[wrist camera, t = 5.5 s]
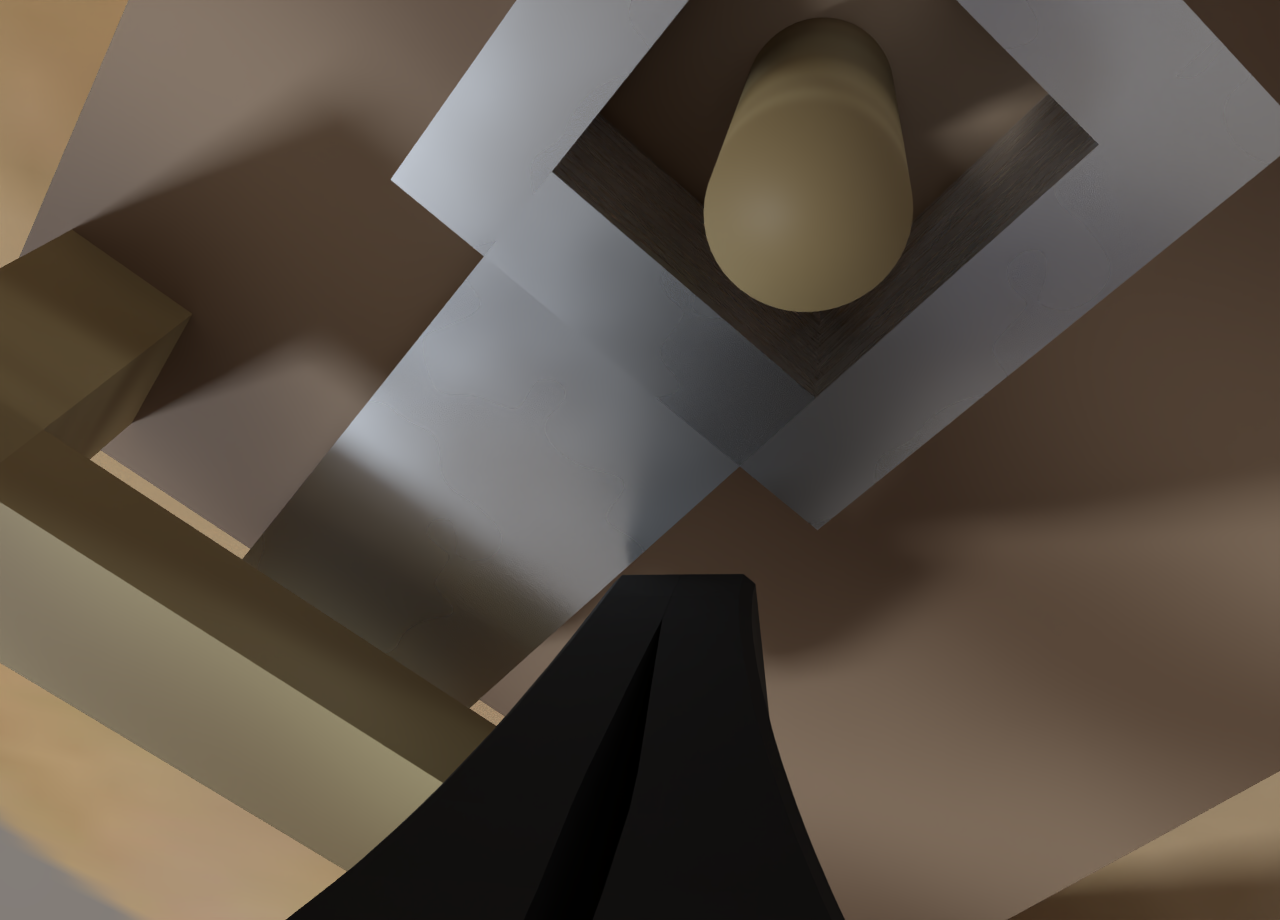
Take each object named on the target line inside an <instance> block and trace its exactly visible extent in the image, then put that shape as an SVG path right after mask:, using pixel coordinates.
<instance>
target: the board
mask: <svg viewBox="0 0 1280 920" xmlns="http://www.w3.org/2000/svg"><path fill="white" fill-rule="evenodd" d="M1183 1H1184V2H1185V3H1186V4H1187V5H1188V6H1189V7H1190V9H1191V10H1192V11H1193V12H1194V13H1195V14H1196V15H1197V16H1198V17H1199V18H1200V19H1201V20H1202V22H1203V23H1204V24H1205V25H1206V26H1207V27H1208V28H1209V29H1210V30H1211V31H1212V32H1213V34H1214V35H1215V36H1216V37H1217V38H1218V39H1219V40H1220V41H1221V42H1222V43H1223V44H1224V45H1225V47H1226V48H1227V49H1228V50H1229V51H1230V52H1231V53H1232V54H1233V55H1234V56H1235V57H1236V59H1237V60H1238V61H1239V62H1240V63H1241V64H1242V65H1243V66H1244V67H1245V68H1246V69H1247V70H1248V72H1249V73H1250V74H1251V75H1252V76H1253V77H1254V78H1255V79H1256V80H1257V81H1258V82H1259V83H1260V85H1261V86H1262V87H1263V88H1264V89H1265V90H1266V91H1267V92H1268V93H1269V94H1270V95H1271V97H1272V98H1273V99H1274V100H1275V101H1276V102H1277V103H1278V104H1279V105H1280V0H1183ZM515 2H516V0H129V1H128V3H127V5H126V8H125V10H124V12H123V15H122V17H121V19H120V22H119V24H118V26H117V29H116V31H115V34H114V36H113V38H112V41H111V43H110V45H109V48H108V50H107V52H106V55H105V57H104V59H103V62H102V64H101V66H100V69H99V71H98V73H97V76H96V78H95V81H94V83H93V85H92V88H91V90H90V92H89V95H88V97H87V99H86V102H85V104H84V106H83V109H82V111H81V113H80V116H79V118H78V121H77V123H76V125H75V128H74V130H73V132H72V135H71V137H70V139H69V142H68V144H67V146H66V149H65V151H64V153H63V156H62V158H61V161H60V163H59V165H58V168H57V170H56V172H55V175H54V177H53V179H52V182H51V184H50V186H49V189H48V191H47V193H46V196H45V198H44V201H43V203H42V205H41V208H40V210H39V212H38V215H37V217H36V219H35V222H34V224H33V226H32V229H31V231H30V233H29V236H28V238H27V241H26V243H25V245H24V248H23V250H22V252H21V255H20V257H19V258H18V259H16V260H15V261H13V262H11V263H9V264H7V265H5V266H4V267H2V268H0V663H1V664H3V665H5V666H6V667H8V668H10V669H11V670H13V671H15V672H16V673H18V674H20V675H21V676H23V677H25V678H26V679H28V680H30V681H31V682H33V683H35V684H36V685H38V686H40V687H41V688H43V689H45V690H46V691H48V692H50V693H51V694H53V695H55V696H56V697H58V698H60V699H61V700H63V701H65V702H66V703H68V704H70V705H71V706H73V707H75V708H76V709H78V710H80V711H81V712H83V713H85V714H86V715H88V716H90V717H91V718H93V719H95V720H96V721H98V722H100V723H101V724H103V725H105V726H106V727H108V728H110V729H111V730H113V731H115V732H116V733H118V734H120V735H121V736H123V737H125V738H126V739H128V740H130V741H131V742H133V743H135V744H136V745H138V746H139V747H141V748H143V749H144V750H146V751H148V752H149V753H151V754H153V755H154V756H156V757H158V758H159V759H161V760H163V761H164V762H166V763H168V764H169V765H171V766H173V767H174V768H176V769H178V770H179V771H181V772H183V773H184V774H186V775H188V776H189V777H191V778H193V779H194V780H196V781H198V782H199V783H201V784H203V785H204V786H206V787H208V788H209V789H211V790H213V791H214V792H216V793H218V794H219V795H221V796H223V797H224V798H226V799H228V800H229V801H231V802H233V803H234V804H236V805H238V806H239V807H241V808H243V809H244V810H246V811H248V812H249V813H251V814H253V815H254V816H256V817H258V818H259V819H261V820H263V821H264V822H266V823H268V824H269V825H271V826H273V827H274V828H276V829H278V830H279V831H281V832H283V833H284V834H286V835H288V836H289V837H291V838H293V839H294V840H296V841H298V842H299V843H301V844H303V845H304V846H306V847H308V848H309V849H311V850H313V851H314V852H316V853H318V854H319V855H321V856H323V857H324V858H326V859H328V860H329V861H331V862H333V863H334V864H336V865H338V866H339V867H341V868H342V869H344V870H346V871H348V870H350V869H351V868H352V867H353V866H354V865H355V864H357V863H358V862H359V861H360V860H361V859H362V858H364V857H365V856H366V855H367V854H368V853H369V852H370V851H371V850H372V849H374V848H375V847H376V846H377V845H378V844H379V843H380V842H381V841H382V840H384V839H385V838H386V837H387V836H388V835H389V834H390V833H391V832H393V831H394V830H395V829H396V828H397V827H398V826H399V825H400V824H401V823H402V822H403V821H404V820H405V819H407V818H408V817H409V816H410V815H411V814H412V813H413V812H414V811H415V810H416V809H417V808H418V807H419V806H420V805H421V804H422V803H423V802H424V801H425V800H426V799H427V798H428V797H429V796H430V795H431V794H432V793H433V792H435V791H436V790H437V789H438V788H439V787H440V786H441V785H442V784H443V783H444V781H445V780H446V779H447V778H448V777H449V776H450V775H451V774H452V773H453V772H454V771H455V770H456V769H457V768H458V767H459V766H460V765H461V763H462V762H463V761H464V760H465V759H466V758H467V757H468V756H469V755H470V754H471V753H472V752H473V751H474V750H475V749H476V748H477V747H478V745H479V744H480V743H481V742H482V741H483V740H484V739H485V738H486V737H487V736H488V735H489V734H490V733H491V732H492V731H493V730H494V729H495V727H496V726H495V725H494V724H492V723H491V722H489V721H488V720H486V719H485V718H483V717H482V716H480V715H479V714H477V713H476V712H474V711H472V710H471V709H469V708H468V707H466V706H465V705H463V704H462V703H460V702H459V701H457V700H456V699H454V698H453V697H451V696H450V695H448V694H446V693H445V692H443V691H442V690H440V689H439V688H437V687H436V686H434V685H433V684H431V683H430V682H428V681H427V680H425V679H424V678H422V677H421V676H419V675H417V674H416V673H414V672H413V671H411V670H410V669H408V668H407V667H405V666H404V665H402V664H401V663H399V662H398V661H396V660H395V659H393V658H392V657H390V656H388V655H387V654H385V653H384V652H382V651H381V650H379V649H378V648H376V647H375V646H373V645H372V644H370V643H369V642H367V641H366V640H364V639H363V638H361V637H359V636H358V635H356V634H355V633H353V632H352V631H350V630H349V629H347V628H346V627H344V626H343V625H341V624H340V623H338V622H337V621H335V620H334V619H332V618H330V617H329V616H327V615H326V614H324V613H323V612H321V611H320V610H318V609H317V608H315V607H314V606H312V605H311V604H309V603H308V602H306V601H305V600H303V599H301V598H300V597H298V596H297V595H295V594H294V593H292V592H291V591H289V590H288V589H286V588H285V587H283V586H282V585H280V584H279V583H277V582H276V581H274V580H272V579H271V578H269V577H268V576H266V575H265V574H263V573H262V572H260V571H259V570H257V569H256V568H254V567H253V566H251V565H250V564H248V563H247V562H245V561H243V560H242V559H240V558H239V557H237V556H236V555H234V554H233V553H231V552H230V551H228V550H227V549H225V548H224V547H222V546H221V545H219V544H218V543H216V542H214V541H213V540H211V539H210V538H208V537H207V536H205V535H204V534H202V533H201V532H199V531H198V530H196V529H195V528H193V527H192V526H190V525H189V524H187V523H185V522H184V521H182V520H181V519H179V518H178V517H176V516H175V515H173V514H172V513H170V512H169V511H167V510H166V509H164V508H163V507H161V506H160V505H158V504H156V503H155V502H153V501H152V500H150V499H149V498H147V497H146V496H144V495H143V494H141V493H140V492H138V491H137V490H135V489H134V488H132V487H131V486H129V485H127V484H126V483H124V482H123V481H121V480H120V479H118V478H117V477H115V476H114V475H112V474H111V473H109V472H108V471H106V470H105V469H103V468H102V467H100V466H98V465H97V464H95V463H94V462H92V461H91V460H90V459H91V458H92V457H93V456H94V455H95V454H97V453H98V452H99V451H100V450H101V451H103V452H104V453H106V454H107V455H109V456H110V457H112V458H113V459H115V460H116V461H118V462H119V463H121V464H122V465H124V466H126V467H127V468H129V469H130V470H132V471H133V472H135V473H136V474H138V475H139V476H141V477H142V478H144V479H145V480H147V481H148V482H150V483H151V484H153V485H154V486H156V487H157V488H159V489H160V490H162V491H163V492H165V493H167V494H168V495H170V496H171V497H173V498H174V499H176V500H177V501H179V502H180V503H182V504H183V505H185V506H186V507H188V508H189V509H191V510H192V511H194V512H195V513H197V514H198V515H200V516H201V517H203V518H204V519H206V520H207V521H209V522H211V523H212V524H214V525H215V526H217V527H218V528H220V529H221V530H223V531H224V532H226V533H227V534H229V535H230V536H232V537H233V538H235V539H236V540H238V541H239V542H241V543H242V544H244V545H245V546H247V547H248V548H250V549H251V548H252V547H253V545H254V544H255V543H256V542H257V540H258V539H259V538H260V536H261V535H262V534H263V533H264V531H265V530H266V529H267V528H268V526H269V525H270V524H271V523H272V521H273V520H274V519H275V518H276V516H277V515H278V514H279V513H280V511H281V510H282V509H283V508H284V506H285V505H286V504H287V503H288V501H289V500H290V499H291V498H292V496H293V495H294V494H295V493H296V491H297V490H298V489H299V488H300V486H301V485H302V484H303V483H304V481H305V480H306V479H307V478H308V476H309V475H310V474H311V473H312V471H313V470H314V469H315V468H316V466H317V465H318V464H319V463H320V461H321V460H322V459H323V458H324V456H325V455H326V454H327V453H328V451H329V450H330V449H331V448H332V446H333V445H334V444H335V443H336V441H337V440H338V439H339V438H340V436H341V435H342V434H343V433H344V431H345V430H346V429H347V427H348V426H349V425H350V424H351V422H352V421H353V420H354V419H355V417H356V416H357V415H358V414H359V412H360V411H361V410H362V409H363V407H364V406H365V405H366V404H367V402H368V401H369V400H370V399H371V397H372V396H373V395H374V394H375V392H376V391H377V390H378V389H379V387H380V386H381V385H382V384H383V382H384V381H385V380H386V379H387V377H388V376H389V375H390V374H391V372H392V371H393V370H394V369H395V367H396V366H397V365H398V364H399V362H400V361H401V360H402V359H403V357H404V356H405V355H406V354H407V352H408V351H409V350H410V349H411V347H412V346H413V345H414V344H415V342H416V341H417V340H418V339H419V337H420V336H421V335H422V334H423V332H424V331H425V330H426V329H427V327H428V326H429V325H430V323H431V322H432V321H433V320H434V318H435V317H436V316H437V315H438V313H439V312H440V311H441V310H442V308H443V307H444V306H445V305H446V303H447V302H448V301H449V300H450V298H451V297H452V296H453V295H454V293H455V292H456V291H457V290H458V288H459V287H460V286H461V285H462V283H463V282H464V281H465V280H466V278H467V277H468V276H469V275H470V273H471V272H472V271H473V270H474V268H475V267H476V266H477V265H478V263H479V262H480V261H481V260H482V258H483V257H484V256H483V255H482V254H480V253H479V252H478V251H477V250H476V249H474V248H473V247H472V246H471V245H469V244H468V243H467V242H466V241H465V240H463V239H462V238H461V237H460V236H459V235H457V234H456V233H455V232H454V231H452V230H451V229H450V228H449V227H448V226H446V225H445V224H444V223H443V222H441V221H440V220H439V219H438V218H437V217H435V216H434V215H433V214H432V213H430V212H429V211H428V210H427V209H426V208H424V207H423V206H422V205H421V204H420V203H418V202H417V201H416V200H415V199H413V198H412V197H411V196H410V195H409V194H407V193H406V192H405V191H404V190H402V189H401V188H400V187H399V186H398V185H396V184H395V183H394V182H393V181H392V180H391V178H392V177H393V175H394V174H395V172H396V171H397V170H398V168H399V167H400V165H401V164H402V163H403V161H404V160H405V158H406V157H407V155H408V154H409V153H410V151H411V150H412V148H413V147H414V145H415V144H416V143H417V141H418V140H419V138H420V137H421V135H422V134H423V133H424V131H425V130H426V128H427V127H428V125H429V124H430V123H431V121H432V120H433V118H434V117H435V116H436V114H437V113H438V111H439V110H440V108H441V107H442V106H443V104H444V103H445V101H446V100H447V98H448V97H449V96H450V94H451V93H452V91H453V90H454V88H455V87H456V86H457V84H458V83H459V81H460V80H461V78H462V77H463V76H464V74H465V73H466V71H467V70H468V69H469V67H470V66H471V64H472V63H473V61H474V60H475V59H476V57H477V56H478V54H479V53H480V51H481V50H482V49H483V47H484V46H485V44H486V43H487V41H488V40H489V39H490V37H491V36H492V34H493V33H494V31H495V30H496V29H497V27H498V26H499V24H500V23H501V22H502V20H503V19H504V17H505V16H506V14H507V13H508V12H509V10H510V9H511V7H512V6H513V4H514V3H515ZM1047 94H1048V92H1047V91H1046V90H1045V89H1044V88H1043V87H1042V86H1041V85H1040V84H1039V83H1038V82H1037V81H1036V80H1035V79H1034V78H1033V77H1032V76H1031V75H1030V74H1029V73H1028V72H1027V71H1026V70H1025V69H1024V68H1023V67H1022V66H1021V65H1020V64H1019V63H1018V62H1017V61H1016V60H1015V59H1014V58H1013V57H1012V56H1011V55H1010V54H1009V53H1008V52H1007V51H1006V50H1005V49H1004V48H1003V47H1002V46H1001V45H1000V44H999V43H998V42H997V41H996V40H995V39H994V38H993V37H992V36H991V35H990V34H989V33H988V32H987V31H986V30H985V29H984V28H983V27H982V26H981V25H980V24H979V23H978V22H977V21H976V20H975V19H974V18H973V17H972V16H971V15H970V14H969V12H968V11H967V10H966V9H965V8H964V7H963V6H962V5H961V4H960V3H959V2H958V1H957V0H689V1H688V2H687V4H686V5H685V6H684V7H683V9H682V10H681V11H680V12H679V14H678V15H677V16H676V18H675V19H674V20H673V21H672V23H671V24H670V25H669V26H668V28H667V29H666V30H665V31H664V33H663V34H662V35H661V36H660V38H659V39H658V40H657V41H656V43H655V44H654V45H653V46H652V48H651V49H650V50H649V51H648V53H647V54H646V55H645V56H644V58H643V59H642V60H641V61H640V63H639V64H638V65H637V66H636V68H635V69H634V70H633V71H632V73H631V74H630V75H629V76H628V78H627V79H626V80H625V81H624V83H623V84H622V85H621V86H620V88H619V89H618V90H617V91H616V93H615V94H614V95H613V96H612V98H611V99H610V100H609V101H608V103H607V104H606V105H605V106H604V108H603V109H602V110H601V111H600V113H599V114H601V115H602V116H603V117H604V118H605V119H606V120H607V121H608V122H610V123H611V124H612V125H613V126H614V127H615V128H616V129H617V130H619V131H620V132H621V133H622V134H623V135H624V136H625V137H627V138H628V139H629V140H630V141H631V142H632V143H633V144H634V145H636V146H637V147H638V148H639V149H640V150H641V151H642V152H643V153H645V154H646V155H647V156H648V157H649V158H650V159H651V160H653V161H654V162H655V163H656V164H657V165H658V166H659V167H660V168H662V169H663V170H664V171H665V172H666V173H667V174H668V175H669V176H671V177H672V178H673V179H674V180H675V181H676V182H677V183H678V184H680V185H681V186H682V187H683V188H684V189H685V190H686V191H688V192H689V193H690V194H691V195H692V196H693V197H694V198H695V199H697V200H698V201H699V202H700V203H701V204H702V205H703V206H704V226H705V232H706V237H707V240H708V243H709V246H710V249H711V252H712V254H713V256H714V258H715V260H716V262H717V263H718V265H719V266H720V268H721V269H722V271H723V272H724V273H725V275H726V276H727V277H728V278H729V279H730V280H731V281H732V282H733V283H734V284H735V285H736V286H737V287H738V288H739V289H740V290H742V291H743V292H745V293H746V294H747V295H749V296H750V297H752V298H754V299H756V300H758V301H760V302H762V303H764V304H767V305H769V306H772V307H775V308H779V309H783V310H788V311H796V312H815V311H824V310H829V309H833V308H837V307H840V306H843V305H845V304H848V303H850V302H852V301H854V300H856V299H858V298H860V297H862V296H863V295H865V294H866V293H868V292H869V291H871V290H872V289H874V288H875V287H876V286H877V285H878V284H879V283H880V282H881V281H883V280H884V278H885V277H886V276H887V275H888V274H889V273H890V272H891V270H892V269H893V268H894V266H895V265H896V263H897V262H898V260H899V259H900V257H901V255H902V253H903V251H904V249H905V247H906V244H907V241H908V238H909V235H910V230H911V225H912V222H913V221H914V220H915V219H916V218H917V217H918V216H919V215H920V214H921V213H923V212H924V211H925V210H926V209H927V208H928V207H929V206H930V205H931V204H932V203H933V202H934V201H935V200H936V199H937V198H938V197H939V196H940V195H941V194H943V193H944V192H945V191H946V190H947V189H948V188H949V187H950V186H951V185H952V184H953V183H954V182H955V181H956V180H957V179H958V178H959V177H960V176H961V175H963V174H964V173H965V172H966V171H967V170H968V169H969V168H970V167H971V166H972V165H973V164H974V163H975V162H976V161H977V160H978V159H979V158H980V157H982V156H983V155H984V154H985V153H986V152H987V151H988V150H989V149H990V148H991V147H992V146H993V145H994V144H995V143H996V142H997V141H998V140H999V139H1000V138H1002V137H1003V136H1004V135H1005V134H1006V133H1007V132H1008V131H1009V130H1010V129H1011V128H1012V127H1013V126H1014V125H1015V124H1016V123H1017V122H1018V121H1019V120H1020V119H1022V118H1023V117H1024V116H1025V115H1026V114H1027V113H1028V112H1029V111H1030V110H1031V109H1032V108H1033V107H1034V106H1035V105H1036V104H1037V103H1038V102H1039V101H1041V100H1042V99H1043V98H1044V97H1045V96H1046V95H1047ZM666 574H744V575H745V576H747V577H748V578H749V579H750V580H752V581H753V582H754V583H755V584H756V593H757V602H758V612H759V622H760V631H761V641H762V650H763V660H764V669H765V679H766V689H767V698H768V708H769V717H770V722H771V726H772V730H773V733H774V737H775V740H776V744H777V747H778V750H779V753H780V757H781V760H782V763H783V766H784V769H785V772H786V775H787V778H788V781H789V784H790V786H791V789H792V792H793V795H794V798H795V801H796V804H797V807H798V809H799V812H800V815H801V817H802V820H803V823H804V825H805V828H806V830H807V833H808V835H809V838H810V840H811V843H812V846H813V848H814V850H815V853H816V855H817V858H818V860H819V862H820V865H821V867H822V869H823V872H824V874H825V876H826V879H827V881H828V883H829V886H830V888H831V890H832V893H833V895H834V897H835V899H836V901H837V904H838V906H839V908H840V910H841V912H842V914H843V916H844V919H845V920H1008V919H1009V918H1011V917H1013V916H1015V915H1017V914H1019V913H1020V912H1022V911H1024V910H1026V909H1028V908H1030V907H1031V906H1033V905H1035V904H1037V903H1039V902H1041V901H1042V900H1044V899H1046V898H1048V897H1050V896H1052V895H1053V894H1055V893H1057V892H1059V891H1061V890H1063V889H1064V888H1066V887H1068V886H1070V885H1072V884H1074V883H1075V882H1077V881H1079V880H1081V879H1083V878H1085V877H1086V876H1088V875H1090V874H1092V873H1094V872H1096V871H1097V870H1099V869H1101V868H1103V867H1105V866H1106V865H1108V864H1110V863H1112V862H1114V861H1116V860H1117V859H1119V858H1121V857H1123V856H1125V855H1127V854H1128V853H1130V852H1132V851H1134V850H1136V849H1138V848H1139V847H1141V846H1143V845H1145V844H1147V843H1149V842H1150V841H1152V840H1154V839H1156V838H1158V837H1160V836H1161V835H1163V834H1165V833H1167V832H1169V831H1171V830H1172V829H1174V828H1176V827H1178V826H1180V825H1182V824H1183V823H1185V822H1187V821H1189V820H1191V819H1193V818H1194V817H1196V816H1198V815H1200V814H1202V813H1204V812H1205V811H1207V810H1209V809H1211V808H1213V807H1215V806H1216V805H1218V804H1220V803H1222V802H1224V801H1226V800H1227V799H1229V798H1231V797H1233V796H1235V795H1237V794H1238V793H1240V792H1242V791H1244V790H1246V789H1248V788H1249V787H1251V786H1253V785H1255V784H1257V783H1259V782H1260V781H1262V780H1264V779H1266V778H1268V777H1270V776H1271V775H1273V774H1275V773H1277V772H1279V771H1280V156H1279V157H1278V158H1277V159H1276V160H1274V161H1273V162H1272V163H1271V164H1269V165H1268V166H1267V167H1266V168H1264V169H1263V170H1262V171H1261V172H1259V173H1258V174H1257V175H1256V176H1255V177H1253V178H1252V179H1251V180H1250V181H1248V182H1247V183H1246V184H1245V185H1243V186H1242V187H1241V188H1240V189H1238V190H1237V191H1236V192H1235V193H1233V194H1232V195H1231V196H1230V197H1229V198H1227V199H1226V200H1225V201H1224V202H1222V203H1221V204H1220V205H1219V206H1217V207H1216V208H1215V209H1214V210H1212V211H1211V212H1210V213H1209V214H1208V215H1206V216H1205V217H1204V218H1203V219H1201V220H1200V221H1199V222H1198V223H1196V224H1195V225H1194V226H1193V227H1191V228H1190V229H1189V230H1188V231H1187V232H1185V233H1184V234H1183V235H1182V236H1180V237H1179V238H1178V239H1177V240H1175V241H1174V242H1173V243H1172V244H1170V245H1169V246H1168V247H1167V248H1166V249H1164V250H1163V251H1162V252H1161V253H1159V254H1158V255H1157V256H1156V257H1154V258H1153V259H1152V260H1151V261H1149V262H1148V263H1147V264H1146V265H1145V266H1143V267H1142V268H1141V269H1140V270H1138V271H1137V272H1136V273H1135V274H1133V275H1132V276H1131V277H1130V278H1128V279H1127V280H1126V281H1125V282H1124V283H1122V284H1121V285H1120V286H1119V287H1117V288H1116V289H1115V290H1114V291H1112V292H1111V293H1110V294H1109V295H1107V296H1106V297H1105V298H1104V299H1103V300H1101V301H1100V302H1099V303H1098V304H1096V305H1095V306H1094V307H1093V308H1091V309H1090V310H1089V311H1088V312H1086V313H1085V314H1084V315H1083V316H1082V317H1080V318H1079V319H1078V320H1077V321H1075V322H1074V323H1073V324H1072V325H1070V326H1069V327H1068V328H1067V329H1065V330H1064V331H1063V332H1062V333H1061V334H1059V335H1058V336H1057V337H1056V338H1054V339H1053V340H1052V341H1051V342H1049V343H1048V344H1047V345H1046V346H1044V347H1043V348H1042V349H1041V350H1039V351H1038V352H1037V353H1036V354H1035V355H1033V356H1032V357H1031V358H1030V359H1028V360H1027V361H1026V362H1025V363H1023V364H1022V365H1021V366H1020V367H1018V368H1017V369H1016V370H1015V371H1014V372H1012V373H1011V374H1010V375H1009V376H1007V377H1006V378H1005V379H1004V380H1002V381H1001V382H1000V383H999V384H997V385H996V386H995V387H994V388H993V389H991V390H990V391H989V392H988V393H986V394H985V395H984V396H983V397H981V398H980V399H979V400H978V401H976V402H975V403H974V404H973V405H972V406H970V407H969V408H968V409H967V410H965V411H964V412H963V413H962V414H960V415H959V416H958V417H957V418H955V419H954V420H953V421H952V422H951V423H949V424H948V425H947V426H946V427H944V428H943V429H942V430H941V431H939V432H938V433H937V434H936V435H934V436H933V437H932V438H931V439H930V440H928V441H927V442H926V443H925V444H923V445H922V446H921V447H920V448H918V449H917V450H916V451H915V452H913V453H912V454H911V455H910V456H909V457H907V458H906V459H905V460H904V461H902V462H901V463H900V464H899V465H897V466H896V467H895V468H894V469H892V470H891V471H890V472H889V473H888V474H886V475H885V476H884V477H883V478H881V479H880V480H879V481H878V482H876V483H875V484H874V485H873V486H871V487H870V488H869V489H868V490H867V491H865V492H864V493H863V494H862V495H860V496H859V497H858V498H857V499H855V500H854V501H853V502H852V503H850V504H849V505H848V506H847V507H846V508H844V509H843V510H842V511H841V512H839V513H838V514H837V515H836V516H834V517H833V518H832V519H831V520H829V521H828V522H827V523H826V524H824V525H823V526H822V527H821V528H820V529H818V530H817V529H815V528H814V527H813V526H812V525H811V524H809V523H808V522H807V521H806V520H804V519H803V518H802V517H801V516H800V515H798V514H797V513H796V512H795V511H793V510H792V509H791V508H790V507H789V506H787V505H786V504H785V503H784V502H782V501H781V500H780V499H779V498H778V497H776V496H775V495H774V494H773V493H772V492H770V491H769V490H768V489H767V488H765V487H764V486H763V485H762V484H761V483H759V482H758V481H757V480H756V479H754V478H753V477H752V476H751V475H750V474H748V473H747V472H746V471H745V470H744V469H742V468H741V467H740V466H739V467H738V468H737V469H736V470H735V471H734V472H733V473H732V474H731V475H729V476H728V477H727V478H726V479H725V480H724V481H723V482H722V483H720V484H719V485H718V486H717V487H716V488H715V489H714V490H713V491H712V492H710V493H709V494H708V495H707V496H706V497H705V498H704V499H703V500H701V501H700V502H699V503H698V504H697V505H696V506H695V507H694V508H693V509H691V510H690V511H689V512H688V513H687V514H686V515H685V516H684V517H682V518H681V519H680V520H679V521H678V522H677V523H676V524H675V525H674V526H672V527H671V528H670V529H669V530H668V531H667V532H666V533H665V534H663V535H662V536H661V537H660V538H659V539H658V540H657V541H656V542H655V543H653V544H652V545H651V546H650V547H649V548H648V549H647V550H646V551H644V552H643V553H642V554H641V555H640V556H639V557H638V558H637V559H636V560H634V561H633V562H632V563H631V564H630V565H629V566H628V567H627V568H625V569H624V570H623V571H622V572H621V573H620V574H619V575H618V576H617V577H615V578H614V579H613V580H612V581H611V582H610V583H609V584H608V585H606V586H605V587H604V588H603V589H602V590H601V591H600V592H599V593H598V594H596V595H595V596H594V597H593V598H592V599H591V600H590V601H589V602H587V603H586V604H585V605H584V606H583V607H582V608H581V609H580V610H579V611H577V612H576V613H575V614H574V615H573V616H572V617H571V618H570V619H568V620H567V621H566V622H565V623H564V624H563V625H562V626H561V627H560V628H558V629H557V630H556V631H555V632H554V633H553V634H552V635H551V636H550V637H548V638H547V639H546V640H545V641H544V642H543V643H542V644H541V645H539V646H538V647H537V648H536V649H535V650H534V651H533V652H532V653H531V654H529V655H528V656H527V657H526V658H525V659H524V660H523V661H522V662H520V663H519V664H518V665H517V666H516V667H515V668H514V669H513V670H512V671H510V672H509V673H508V674H507V675H506V676H505V677H504V678H503V679H501V680H500V681H499V682H498V683H497V684H496V685H495V686H494V687H493V688H491V689H490V690H489V691H488V692H487V693H486V694H485V695H484V696H482V697H481V698H480V699H479V700H481V701H482V702H484V703H485V704H487V705H488V706H490V707H491V708H493V709H494V710H496V711H497V712H499V713H500V714H502V715H504V716H506V715H507V714H508V713H509V712H510V710H511V709H512V708H513V707H514V706H515V705H516V703H517V702H518V701H519V700H520V699H521V697H522V696H523V695H524V694H525V693H526V692H527V690H528V689H529V688H530V687H531V686H532V685H533V683H534V682H535V681H536V680H537V679H538V677H539V676H540V675H541V674H542V673H543V672H544V670H545V669H546V668H547V667H548V666H549V664H550V663H551V662H552V661H553V659H554V658H555V657H556V656H557V655H558V653H559V652H560V651H561V650H562V648H563V647H564V646H565V645H566V643H567V642H568V641H569V640H570V638H571V637H572V636H573V635H574V633H575V632H576V631H577V629H578V628H579V627H580V626H581V624H582V623H583V622H584V620H585V619H586V618H587V617H588V615H589V614H590V613H591V611H592V610H593V609H594V608H595V606H596V605H597V604H598V602H599V601H600V600H601V599H602V597H603V596H604V595H605V593H606V592H607V591H608V590H609V588H610V587H611V586H612V584H613V583H614V582H615V581H616V580H617V579H618V578H619V577H620V576H621V575H666Z"/></svg>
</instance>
